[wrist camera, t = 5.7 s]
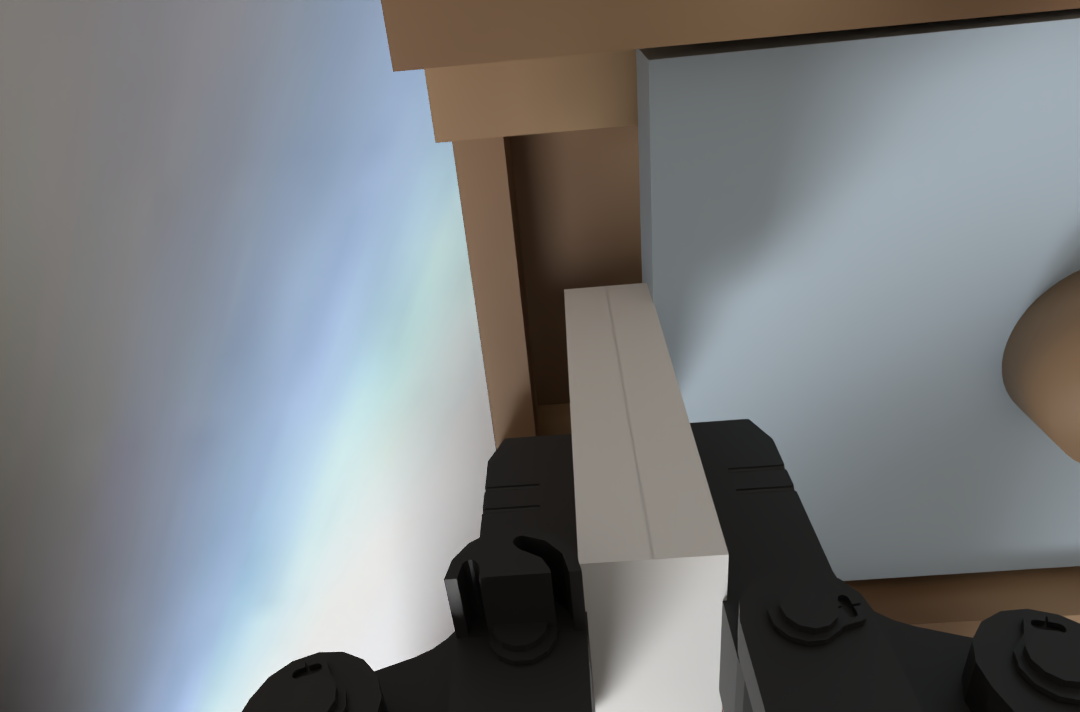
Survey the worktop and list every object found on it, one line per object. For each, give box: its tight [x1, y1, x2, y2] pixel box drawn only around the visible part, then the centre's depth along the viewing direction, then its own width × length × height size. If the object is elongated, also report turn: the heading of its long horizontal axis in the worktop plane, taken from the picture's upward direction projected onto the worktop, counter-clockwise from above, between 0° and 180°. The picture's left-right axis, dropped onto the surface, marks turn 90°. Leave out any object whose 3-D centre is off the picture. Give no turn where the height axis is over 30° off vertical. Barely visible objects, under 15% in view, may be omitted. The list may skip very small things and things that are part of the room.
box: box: [381, 0, 1080, 638], centre depth 15 cm, size 16×14×8 cm
